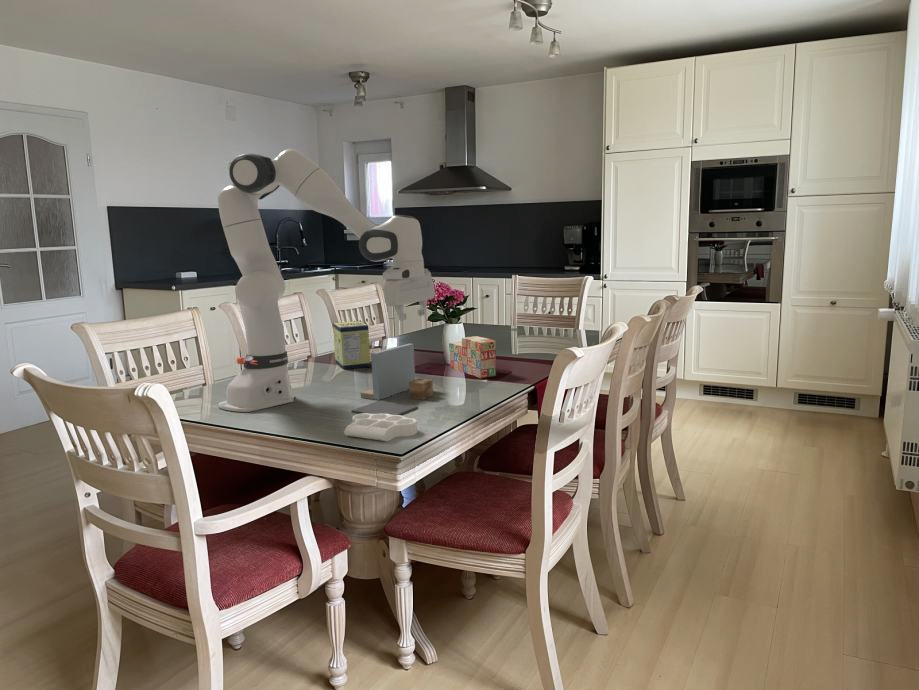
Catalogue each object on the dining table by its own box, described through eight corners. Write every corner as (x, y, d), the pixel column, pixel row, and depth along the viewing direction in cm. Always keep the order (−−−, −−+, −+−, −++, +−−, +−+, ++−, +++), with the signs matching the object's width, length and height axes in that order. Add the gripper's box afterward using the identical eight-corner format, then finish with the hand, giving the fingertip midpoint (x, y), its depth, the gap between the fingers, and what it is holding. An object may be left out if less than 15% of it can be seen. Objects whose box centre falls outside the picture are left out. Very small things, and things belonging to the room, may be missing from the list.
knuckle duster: (334, 437, 165) (367, 421, 178) (396, 446, 157) (427, 429, 170) (333, 424, 165) (367, 409, 178) (395, 432, 157) (426, 416, 170)
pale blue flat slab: (378, 400, 199) (376, 353, 196) (360, 397, 203) (358, 351, 200) (415, 387, 214) (413, 343, 211) (398, 385, 217) (396, 342, 215)
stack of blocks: (449, 368, 242) (448, 334, 240) (464, 365, 245) (463, 332, 243) (480, 378, 224) (480, 342, 222) (496, 376, 227) (495, 340, 225)
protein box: (361, 359, 262) (359, 320, 260) (371, 367, 248) (368, 325, 245) (334, 362, 259) (332, 322, 256) (343, 370, 244) (340, 327, 242)
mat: (390, 418, 179) (390, 416, 179) (351, 412, 186) (351, 410, 186) (418, 408, 189) (417, 406, 188) (379, 402, 196) (379, 400, 196)
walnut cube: (423, 400, 198) (422, 382, 197) (409, 398, 201) (408, 381, 200) (433, 396, 202) (432, 379, 201) (419, 394, 205) (419, 377, 204)
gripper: (421, 268, 207) (424, 312, 209) (378, 274, 190) (382, 322, 192) (438, 267, 203) (441, 313, 206) (396, 273, 186) (399, 323, 189)
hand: (412, 317), depth 199 cm, fingers open, 8 cm apart
